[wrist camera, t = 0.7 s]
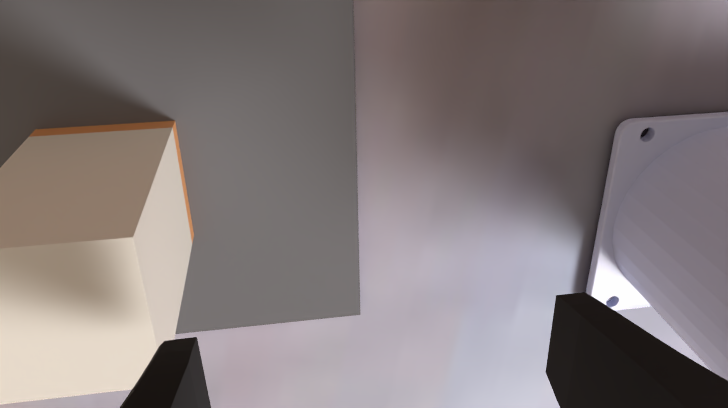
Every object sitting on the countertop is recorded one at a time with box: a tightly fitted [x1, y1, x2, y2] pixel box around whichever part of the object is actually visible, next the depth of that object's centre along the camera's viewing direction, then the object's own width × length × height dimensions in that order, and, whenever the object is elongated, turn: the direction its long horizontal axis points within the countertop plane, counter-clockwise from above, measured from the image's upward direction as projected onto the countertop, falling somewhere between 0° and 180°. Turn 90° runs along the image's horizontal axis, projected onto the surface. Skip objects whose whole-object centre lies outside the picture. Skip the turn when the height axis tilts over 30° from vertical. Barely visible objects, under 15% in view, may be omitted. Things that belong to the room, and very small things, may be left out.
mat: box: [0, 0, 360, 334], centre depth 19 cm, size 18×12×1 cm, turn 90°
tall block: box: [0, 121, 194, 404], centre depth 16 cm, size 4×4×7 cm
